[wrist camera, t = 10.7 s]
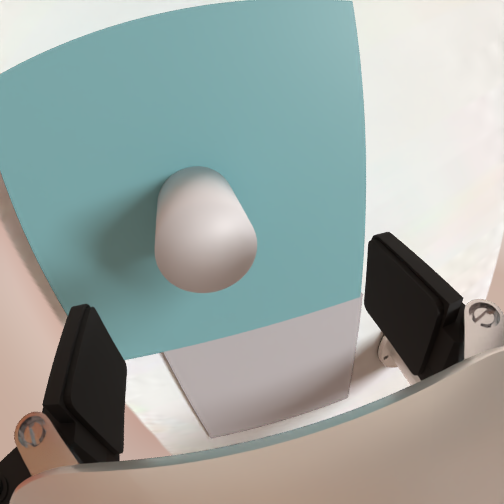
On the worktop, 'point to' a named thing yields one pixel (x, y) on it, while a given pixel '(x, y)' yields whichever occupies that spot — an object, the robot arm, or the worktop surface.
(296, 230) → the lid
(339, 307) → the mat
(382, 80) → the worktop surface
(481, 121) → the worktop surface
